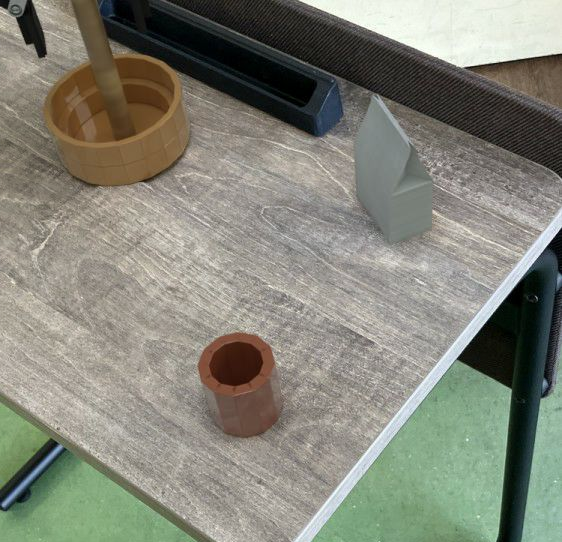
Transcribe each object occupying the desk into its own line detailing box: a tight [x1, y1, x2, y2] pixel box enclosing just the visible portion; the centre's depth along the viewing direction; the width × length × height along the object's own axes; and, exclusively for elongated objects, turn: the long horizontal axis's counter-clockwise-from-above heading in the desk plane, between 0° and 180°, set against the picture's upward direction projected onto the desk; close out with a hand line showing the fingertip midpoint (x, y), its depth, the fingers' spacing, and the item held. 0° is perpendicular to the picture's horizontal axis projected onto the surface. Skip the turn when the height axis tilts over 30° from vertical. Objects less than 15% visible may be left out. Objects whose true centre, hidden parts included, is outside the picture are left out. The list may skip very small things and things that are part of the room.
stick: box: [69, 0, 136, 141], centre depth 81 cm, size 2×2×16 cm
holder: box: [197, 331, 284, 438], centre depth 68 cm, size 5×5×6 cm
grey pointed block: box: [353, 93, 435, 246], centre depth 75 cm, size 4×7×10 cm, turn 21°
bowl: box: [42, 52, 191, 187], centre depth 86 cm, size 12×12×5 cm
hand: (91, 35), depth 78 cm, fingers open, 7 cm apart
